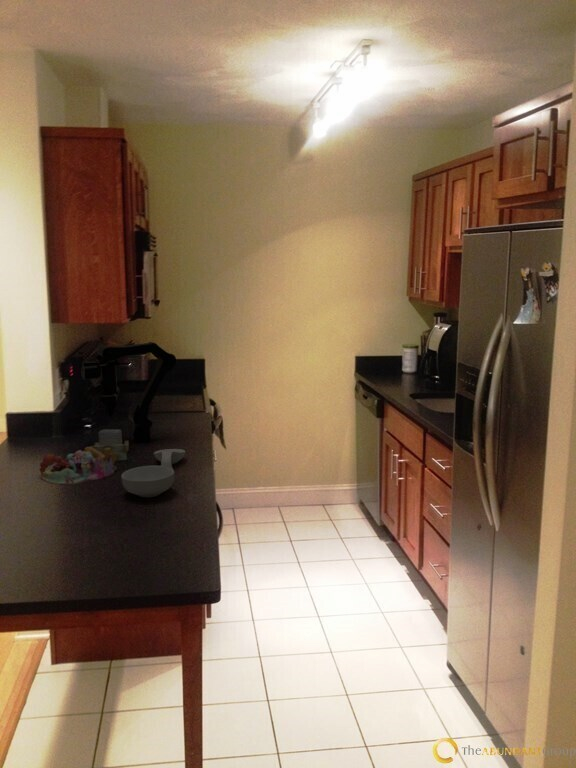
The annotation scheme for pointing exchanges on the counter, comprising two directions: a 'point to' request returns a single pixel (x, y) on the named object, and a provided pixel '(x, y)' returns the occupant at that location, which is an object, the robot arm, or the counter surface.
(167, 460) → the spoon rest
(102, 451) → the pair of wooden bars
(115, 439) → the medicine box
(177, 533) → the counter surface
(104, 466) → the candy landscape model
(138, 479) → the cereal bowl
